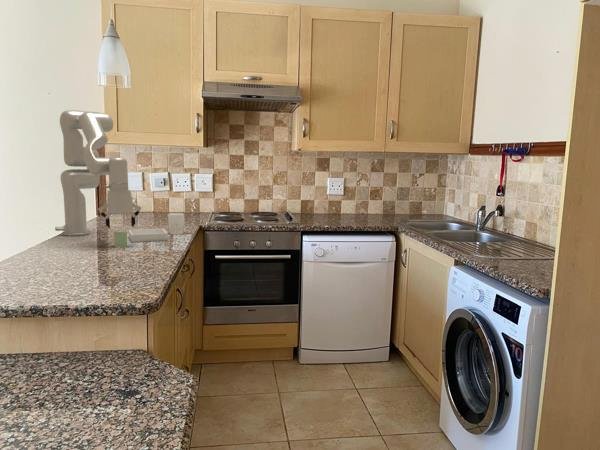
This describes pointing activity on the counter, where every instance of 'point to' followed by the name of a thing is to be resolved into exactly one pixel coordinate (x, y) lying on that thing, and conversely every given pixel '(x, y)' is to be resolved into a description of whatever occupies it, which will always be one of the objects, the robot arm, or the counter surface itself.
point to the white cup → (176, 223)
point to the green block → (120, 239)
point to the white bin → (148, 235)
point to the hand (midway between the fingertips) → (120, 227)
